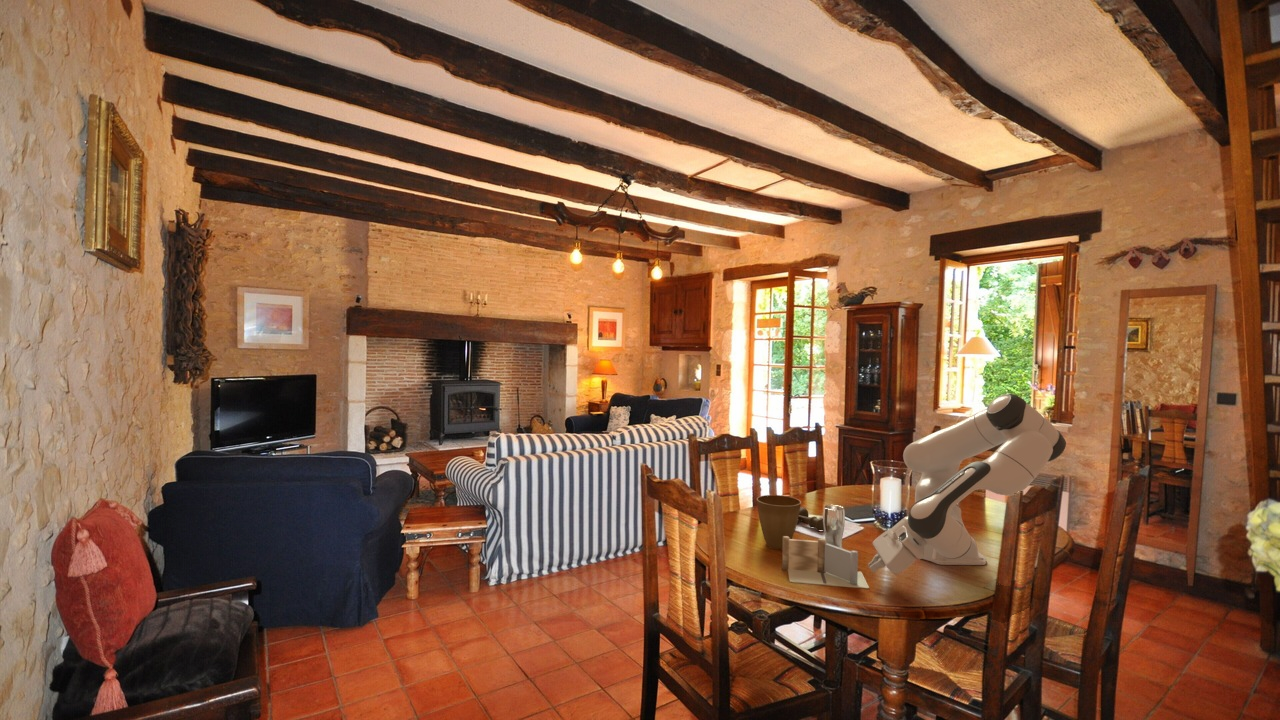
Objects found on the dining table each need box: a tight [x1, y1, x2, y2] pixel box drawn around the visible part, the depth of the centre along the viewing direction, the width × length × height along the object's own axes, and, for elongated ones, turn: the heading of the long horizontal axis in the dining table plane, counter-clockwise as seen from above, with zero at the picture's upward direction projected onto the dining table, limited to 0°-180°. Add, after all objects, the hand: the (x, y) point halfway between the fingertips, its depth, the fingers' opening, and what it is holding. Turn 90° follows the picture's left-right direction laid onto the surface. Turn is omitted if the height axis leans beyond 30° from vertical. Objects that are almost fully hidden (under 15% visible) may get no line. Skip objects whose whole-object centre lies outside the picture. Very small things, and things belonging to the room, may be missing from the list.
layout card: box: [787, 569, 870, 590], centre depth 175 cm, size 22×12×1 cm, turn 79°
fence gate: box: [824, 543, 859, 585], centre depth 173 cm, size 11×2×9 cm, turn 34°
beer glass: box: [822, 504, 846, 549], centre depth 196 cm, size 7×7×15 cm
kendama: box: [798, 506, 824, 531], centre depth 226 cm, size 6×10×20 cm
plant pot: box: [756, 494, 802, 550], centre depth 202 cm, size 15×15×16 cm
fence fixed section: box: [781, 536, 826, 572], centre depth 180 cm, size 13×2×10 cm, turn 79°
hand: (870, 568), depth 169 cm, fingers closed
